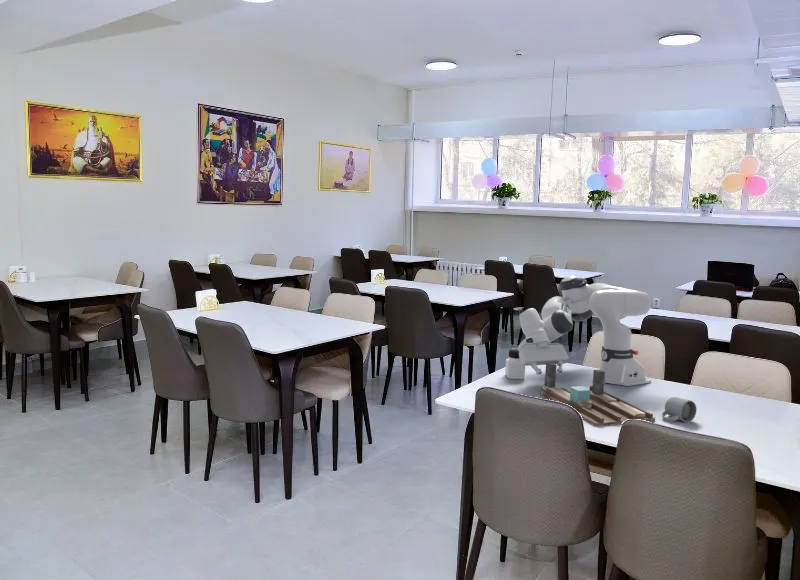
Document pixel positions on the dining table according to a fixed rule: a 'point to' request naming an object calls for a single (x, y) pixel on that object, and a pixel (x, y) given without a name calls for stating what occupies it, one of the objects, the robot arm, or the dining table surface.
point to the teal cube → (579, 394)
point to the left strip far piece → (629, 409)
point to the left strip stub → (600, 386)
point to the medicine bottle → (514, 366)
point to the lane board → (600, 409)
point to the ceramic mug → (679, 409)
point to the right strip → (550, 384)
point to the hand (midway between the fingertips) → (550, 373)
